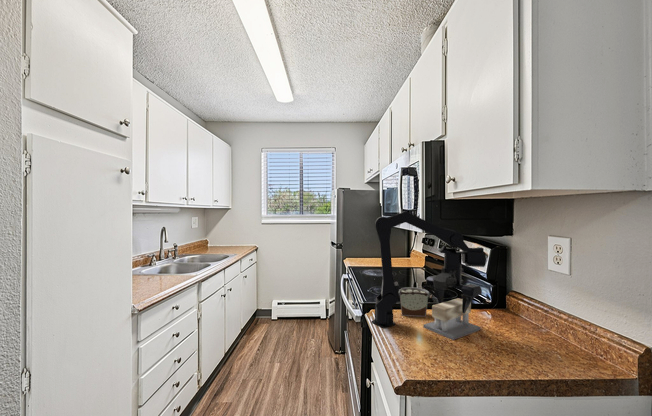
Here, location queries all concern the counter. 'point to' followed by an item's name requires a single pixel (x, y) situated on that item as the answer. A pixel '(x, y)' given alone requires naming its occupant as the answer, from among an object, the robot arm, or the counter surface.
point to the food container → (413, 301)
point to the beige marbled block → (449, 310)
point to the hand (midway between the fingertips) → (451, 309)
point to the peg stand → (452, 327)
